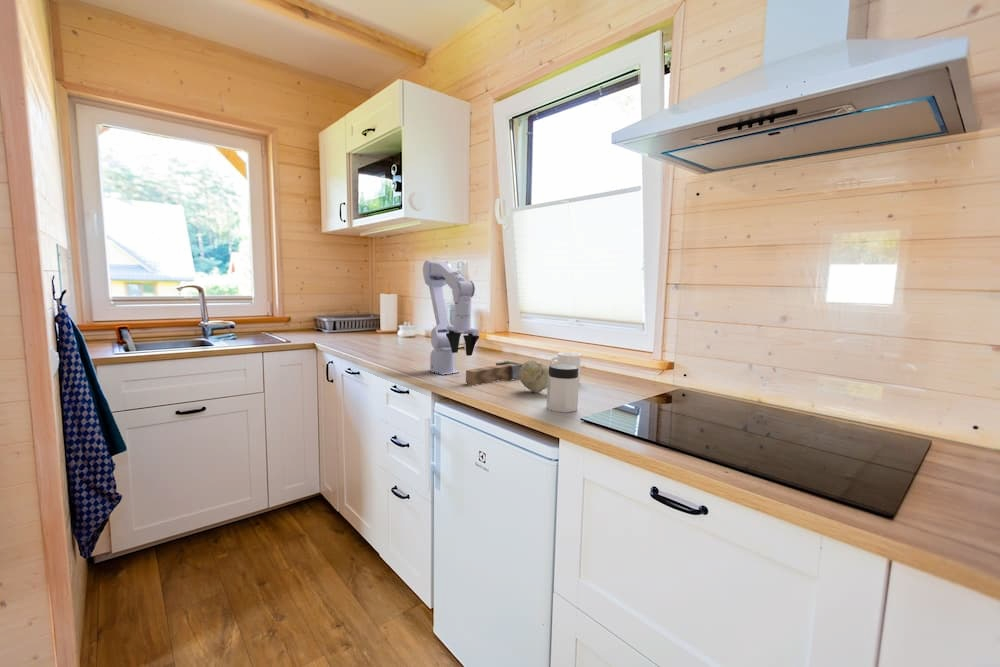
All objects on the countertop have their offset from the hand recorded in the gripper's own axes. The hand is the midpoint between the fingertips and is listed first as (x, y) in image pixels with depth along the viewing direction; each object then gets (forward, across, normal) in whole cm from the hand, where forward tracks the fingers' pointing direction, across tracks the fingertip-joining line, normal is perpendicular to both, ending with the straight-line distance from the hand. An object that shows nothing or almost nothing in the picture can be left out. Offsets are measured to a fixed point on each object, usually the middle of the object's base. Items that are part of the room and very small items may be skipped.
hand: (461, 354), depth 155 cm
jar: (+10, +45, -2) cm, 46 cm away
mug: (+10, +24, +28) cm, 38 cm away
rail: (+10, +7, +8) cm, 15 cm away
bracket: (+9, +7, +17) cm, 21 cm away
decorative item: (+10, +28, +7) cm, 30 cm away
